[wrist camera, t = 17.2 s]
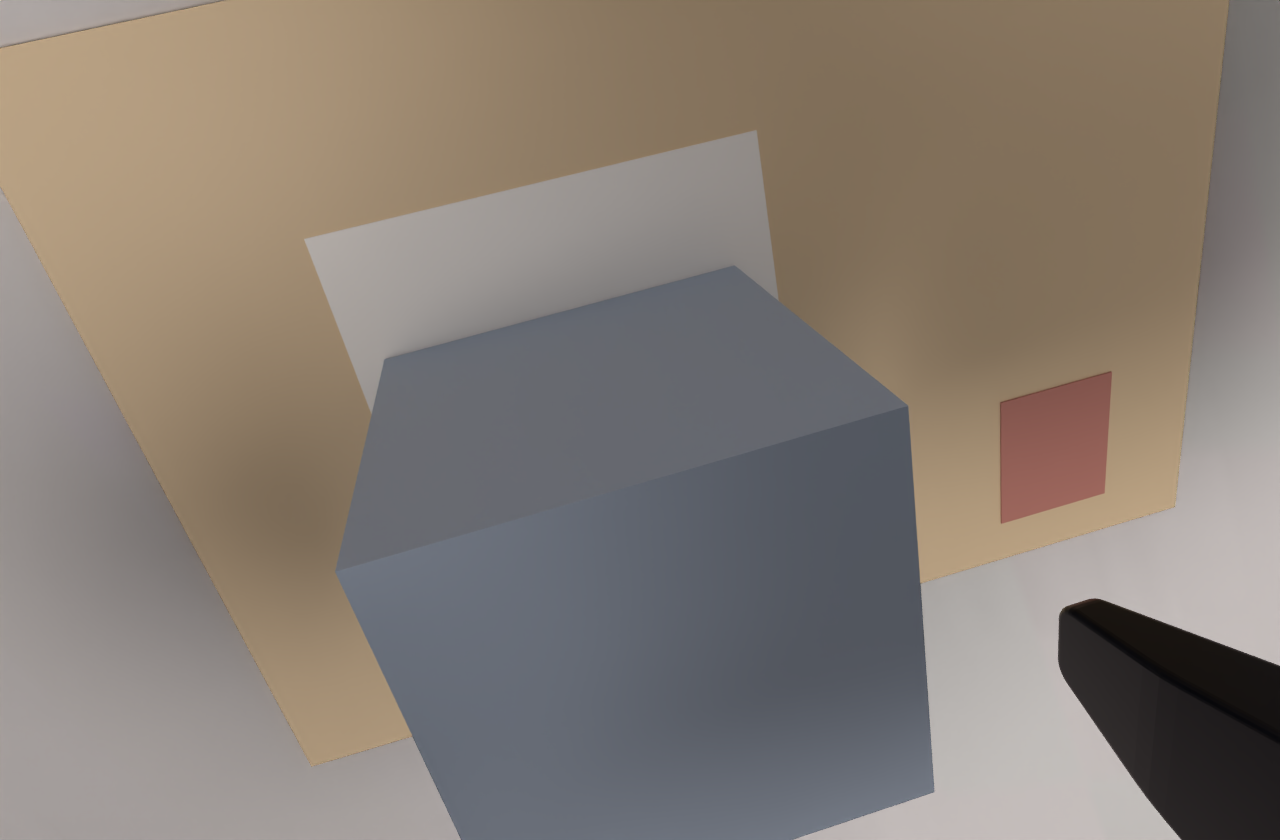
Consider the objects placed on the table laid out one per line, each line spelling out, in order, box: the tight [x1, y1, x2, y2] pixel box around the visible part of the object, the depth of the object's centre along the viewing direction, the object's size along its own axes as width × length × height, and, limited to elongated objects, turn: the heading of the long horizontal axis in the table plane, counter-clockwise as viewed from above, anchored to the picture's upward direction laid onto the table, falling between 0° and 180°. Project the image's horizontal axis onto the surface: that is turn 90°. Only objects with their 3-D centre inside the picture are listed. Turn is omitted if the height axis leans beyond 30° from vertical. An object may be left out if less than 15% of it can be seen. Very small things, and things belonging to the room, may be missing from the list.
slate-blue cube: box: [335, 265, 934, 840], centre depth 10 cm, size 5×5×5 cm
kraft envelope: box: [0, 0, 1229, 767], centre depth 12 cm, size 16×11×1 cm
